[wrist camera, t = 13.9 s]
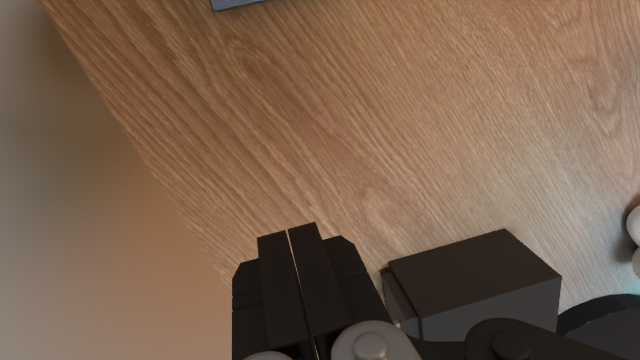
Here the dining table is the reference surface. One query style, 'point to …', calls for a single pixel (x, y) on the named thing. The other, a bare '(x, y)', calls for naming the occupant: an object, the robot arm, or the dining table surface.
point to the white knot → (635, 236)
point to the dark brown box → (478, 286)
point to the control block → (230, 4)
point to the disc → (605, 325)
